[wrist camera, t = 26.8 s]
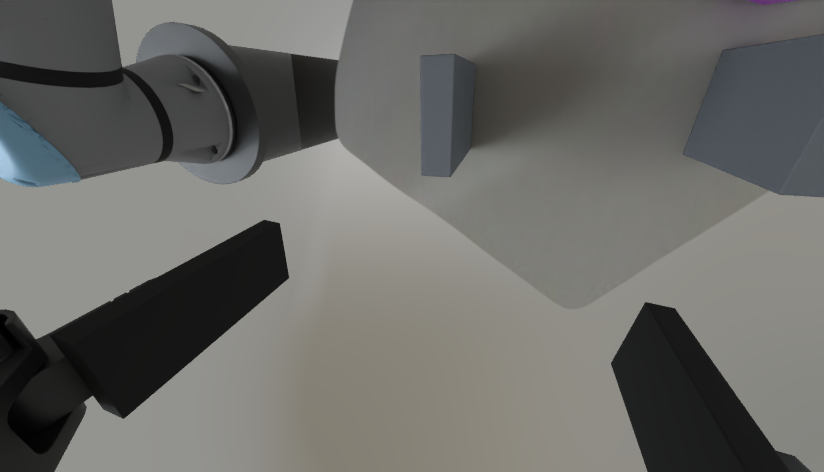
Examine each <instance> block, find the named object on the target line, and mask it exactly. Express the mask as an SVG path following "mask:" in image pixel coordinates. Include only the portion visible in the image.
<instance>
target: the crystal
mask: <svg viewBox="0 0 824 472" xmlns="http://www.w3.org/2000/svg"><path fill="white" fill-rule="evenodd" d="M748 1H751V2H754V3H757V4H760V5H770V4H777V3H783V2H789V1H796V0H748Z"/></svg>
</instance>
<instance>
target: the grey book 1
mask: <svg viewBox="0 0 824 472" xmlns="http://www.w3.org/2000/svg"><path fill="white" fill-rule="evenodd" d="M475 72H476V64H474V63H472V62H470V61H468V60H466V59H464V58H462V57H460V56H458V55H456V54H442V55H424V56H421V57H420V78H421V175H422V176H438V177H451V176H452V174H453V173H454V171H455V170H456V168H457V167H458V166H459V164H460V163H461V161H462V160H463V159H464V157H465V156H466V154H467V153H468V152H469V150H470V149H471V135H472V119H473V104H474V88H475Z"/></svg>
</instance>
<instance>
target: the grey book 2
mask: <svg viewBox="0 0 824 472" xmlns="http://www.w3.org/2000/svg"><path fill="white" fill-rule="evenodd" d="M683 154H684V155H686V156H689V157H691V158H693V159H696V160H698V161H700V162H703V163H705V164H708V165H710V166H712V167H715V168H717V169H719V170H722V171H724V172H727V173H729V174H731V175H734V176H736V177H739V178H741V179H743V180H746V181H748V182H750V183H753V184H755V185H758V186H760V187H762V188H765V189H767V190H769V191H772V192H774V193H777V194H779V195H794V196H812V197H824V34H821V35H814V36H808V37H802V38H796V39H790V40H784V41H778V42H772V43H765V44H759V45H753V46H747V47H741V48H735V49H729V50H723V51H722V54H721V56H720V59H719V61H718V64H717V67H716V69H715V72H714V75H713V77H712V80H711V82H710V85H709V88H708V90H707V93H706V95H705V98H704V101H703V103H702V106H701V108H700V111H699V114H698V116H697V119H696V121H695V124H694V127H693V129H692V132H691V134H690V137H689V140H688V142H687V145H686V147H685V150H684V153H683Z"/></svg>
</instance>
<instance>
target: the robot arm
mask: <svg viewBox="0 0 824 472" xmlns="http://www.w3.org/2000/svg"><path fill="white" fill-rule="evenodd" d="M236 141H237V120H236V115H235V111H234V108H233V105H232V103H231V100H230V98H229V96H228V94H227V92H226V90H225V89H224V87H223V85H222V84H221V83H220V81H219V80H218V79H217V77H216V76H215V75H214V74H213V73H212V72H211V71H210V70H209V69H208V68H207V67H206V66H205V65H203V64H202V63H200V62H199V61H197V60H195V59H193V58H191V57H188V56H183V55H173V54H167V55H160V56H156V57H153V58H150V59H147V60H144V61H141V62H138V63H135V64H132V65H129V66H126V67H122V64H121V58H120V51H119V45H118V38H117V32H116V25H115V18H114V12H113V6H112V0H0V178H2V179H4V180H6V181H8V182H10V183H13V184H17V185H20V186H26V187H42V186H48V185H55V184H61V183H68V182H79V181H80V180H82V179H86V178H91V177H95V176H99V175H104V174H108V173H113V172H117V171H121V170H126V169H130V168H135V167H139V166H144V165H148V164H152V163H157V162H162V161H173V162H184V163H196V164H210V163H214V162H218V161H222V160H224V159H226V158H227V157H228V156H229V155H230V154H231V153H232V151H233V150H234V147H235V145H236ZM288 278H289V275H288V269H287V263H286V257H285V251H284V245H283V240H282V234H281V228H280V223H276V222H271V221H266V220H263V221H261V222H259V223H257V224H256V225H254V226H252V227H250V228H248V229H246V230H245V231H243V232H241V233H239V234H237V235H235V236H233V237H231V238H230V239H228V240H226V241H224V242H222V243H220V244H218V245H217V246H215V247H213V248H211V249H209V250H207V251H206V252H204V253H202V254H200V255H198V256H196V257H195V258H192V259H191V260H189V261H187V262H185V263H183V264H181V265H179V266H178V267H176V268H174V269H172V270H170V271H168V272H166V273H165V274H163V275H161V276H159V277H157V278H154V279H152V280H148V281H146V282H145V283H143V284H141V285H139V286H137V287H135V288H133V289H132V290H130V291H129V293H124V294H122V295H120V296H119V297H116V298H115V299H114V300H113V301H112V302H111V301H109V302H107V303H105V304H103V305H101V306H100V307H98V308H96V309H94V310H92V311H90V312H88V313H86V314H85V315H83V316H81V317H79V318H77V319H75V320H73V321H72V322H70V323H68V324H66V325H64V326H62V327H60V328H58V329H57V330H55V331H53V332H51V333H49V334H47V335H45V336H43V337H41V338H38V339H35V338H34V337H33V335H32V334H31V333H30V331H28V329H27V328H26V326H25V325H24V324H23V322H22V321H21V320H20V318H19V317H18V316H17V315H16V313H15V312H14V311H10V310H0V472H54V471H55V469H56V468H57V466H58V464H59V462H60V460H61V458H62V456H63V454H64V452H65V451H66V449H67V447H68V445H69V443H70V441H71V439H72V437H73V436H74V434H75V432H76V430H77V428H78V426H79V424H80V423H81V421H82V419H83V417H84V415H85V411H86V405H85V403H84V401H86V400H87V399H88V398H90V397H91V396H94V397H95V399H96V400H97V401H98V403H99V404H100V405H101V407H102V408H103V409H104V410H106V411H108V412H110V413H112V414H115V415H117V416H119V417H121V418H125V417H126V416H128V415H129V414H130V413H131V412H132V411H134V410H135V409H136V408H137V407H138V406H139V405H140V404H142V403H143V402H144V401H145V400H146V399H148V398H149V397H150V396H151V395H152V394H153V393H155V392H156V391H157V390H158V389H159V388H160V387H162V386H163V385H164V384H165V383H166V382H168V381H169V380H170V379H171V378H172V377H173V376H175V375H176V374H177V373H178V372H179V371H180V370H181V369H182V368H184V367H185V366H186V365H187V364H188V363H190V362H191V361H192V360H193V359H194V358H196V357H197V356H198V355H199V354H200V353H202V352H203V351H204V350H205V349H206V348H207V347H209V346H210V345H211V344H212V343H213V342H214V341H216V340H217V339H218V338H219V337H220V336H221V335H223V334H224V333H225V332H226V331H227V330H228V329H230V328H231V327H232V326H233V325H234V324H236V323H237V322H238V321H239V320H240V319H241V318H243V317H244V316H245V315H246V314H247V313H248V312H250V311H251V310H252V309H253V308H254V307H255V306H257V305H258V304H259V303H260V302H261V301H262V300H264V299H265V298H266V297H267V296H268V295H270V294H271V293H272V292H273V291H274V290H275V289H277V288H278V287H279V286H280V285H281V284H282V283H284V282H285V281H286V280H287V279H288ZM611 365H612V368H613V371H614V374H615V377H616V379H617V382H618V386H619V388H620V392H621V394H622V397H623V400H624V403H625V406H626V409H627V412H628V415H629V418H630V421H631V424H632V427H633V430H634V433H635V436H636V438H637V442H638V445H639V448H640V450H641V453H642V456H643V459H644V462H645V465H646V468H647V471H648V472H811V471H810V470H809V469H808V468H807V467H806V466H805V465H803V464H802V463H801V462H800V461H799V460H798V459H797V458H796V457H795V456H792V455H788V454H785V453H782V452H778V451H775V449H774V448H773V447H772V445H771V444H770V443H769V441H768V440H767V438H766V437H765V435H764V434H763V432H762V431H761V430H760V428H759V427H758V425H757V424H756V423H755V421H754V420H753V419H752V417H751V416H750V414H749V413H748V411H747V410H746V408H745V407H744V406H743V404H742V403H741V401H740V400H739V399H738V397H737V396H736V394H735V393H734V391H733V390H732V389H731V387H730V386H729V384H728V383H727V382H726V380H725V379H724V377H723V376H722V375H721V373H720V372H719V370H718V369H717V367H716V366H715V365H714V363H713V362H712V360H711V359H710V358H709V356H708V355H707V353H706V352H705V350H704V349H703V348H702V346H701V345H700V343H699V342H698V341H697V339H696V338H695V336H694V335H693V334H692V332H691V331H690V329H689V328H688V326H687V325H686V324H685V322H684V321H683V320H682V318H681V316H680V315H679V314H678V312H677V311H676V309H675V308H670V307H665V306H661V305H656V304H652V303H647V302H646V303H645V304H644V306H643V307H642V309H641V311H640V313H639V315H638V316H637V318H636V320H635V322H634V323H633V325H632V327H631V329H630V331H629V332H628V334H627V336H626V338H625V339H624V341H623V343H622V345H621V346H620V348H619V350H618V352H617V354H616V355H615V357H614V359H613V361H612V362H611Z"/></svg>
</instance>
